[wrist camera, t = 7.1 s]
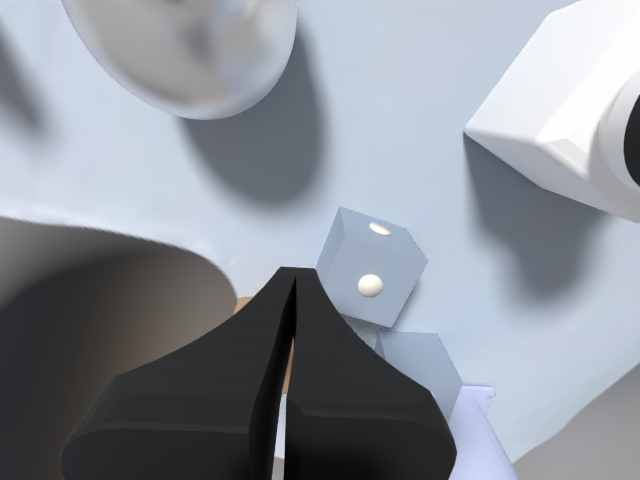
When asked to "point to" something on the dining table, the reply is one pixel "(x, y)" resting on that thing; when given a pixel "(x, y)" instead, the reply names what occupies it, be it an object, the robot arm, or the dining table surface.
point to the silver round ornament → (189, 50)
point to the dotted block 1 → (369, 267)
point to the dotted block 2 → (423, 364)
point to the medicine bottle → (573, 107)
